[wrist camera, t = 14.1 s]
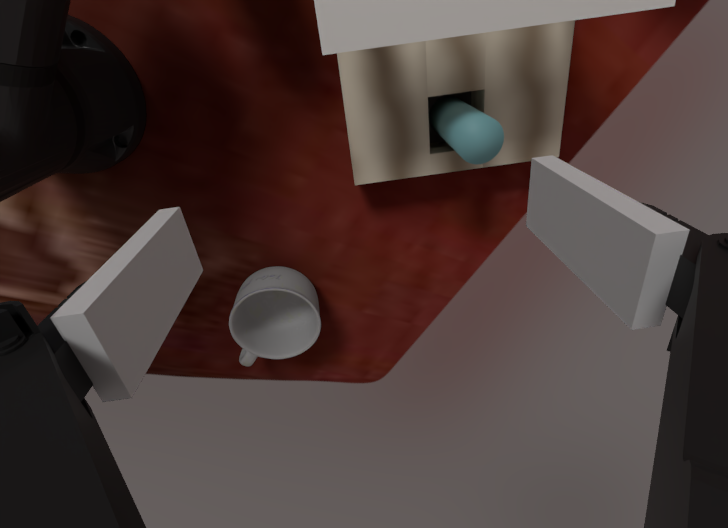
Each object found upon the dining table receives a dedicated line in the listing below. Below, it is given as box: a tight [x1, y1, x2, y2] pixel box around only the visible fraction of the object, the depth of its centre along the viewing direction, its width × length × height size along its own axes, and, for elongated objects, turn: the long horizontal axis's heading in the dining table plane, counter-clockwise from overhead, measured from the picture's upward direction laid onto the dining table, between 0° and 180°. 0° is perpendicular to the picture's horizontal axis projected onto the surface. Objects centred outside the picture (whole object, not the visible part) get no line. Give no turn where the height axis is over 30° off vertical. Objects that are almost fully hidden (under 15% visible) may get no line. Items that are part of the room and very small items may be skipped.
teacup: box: [229, 266, 321, 366], centre depth 52 cm, size 14×11×8 cm
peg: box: [429, 96, 504, 164], centre depth 40 cm, size 4×4×12 cm
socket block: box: [337, 20, 575, 185], centre depth 41 cm, size 22×20×5 cm
